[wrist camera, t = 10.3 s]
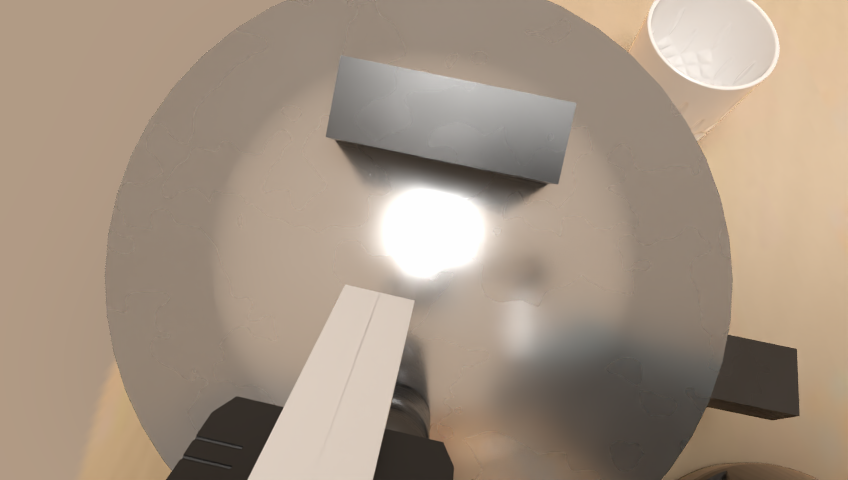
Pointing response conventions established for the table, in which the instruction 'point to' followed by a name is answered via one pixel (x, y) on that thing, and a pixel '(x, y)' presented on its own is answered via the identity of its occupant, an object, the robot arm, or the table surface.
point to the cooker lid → (429, 233)
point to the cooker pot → (757, 380)
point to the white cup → (706, 55)
